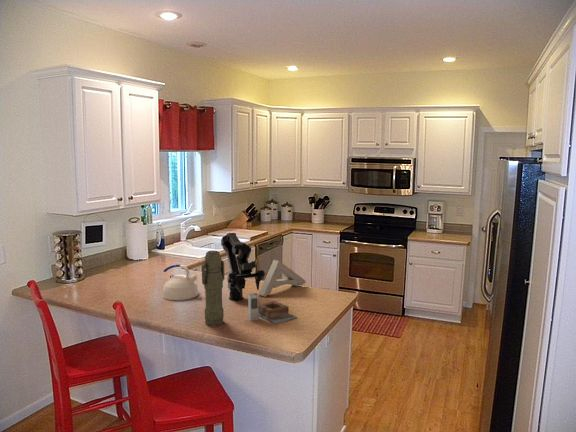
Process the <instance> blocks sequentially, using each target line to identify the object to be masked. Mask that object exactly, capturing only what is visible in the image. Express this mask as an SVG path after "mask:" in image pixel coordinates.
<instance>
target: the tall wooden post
mask: <svg viewBox="0 0 576 432" xmlns="http://www.w3.org/2000/svg"><path fill="white" fill-rule="evenodd" d="M247 295H248V297H247V298H248V299H247V300H248V301H247V302H248V303H247V304H248V312H247V313H248V319H249V321H250V322H251V321H252V322H253V321H259V316H258V305H259V294H258V293H257V292H255V293H254V292H253V293H248V294H247Z"/></svg>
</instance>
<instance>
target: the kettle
mask: <svg viewBox="0 0 576 432" xmlns="http://www.w3.org/2000/svg"><path fill="white" fill-rule="evenodd" d="M173 268H182V269H184V270H185V272H186V275H185V274H176V275H170V276H169V279H167V280H166V282H165V283H164V286H163V289H162V298H164V299H165V300H168V301H169V300H170V301H186V299H187V300H190V298H191V299H194V298H196V297H198V295H199V289H198V284H197V282H196V281H197V280H198V276H197V274H192V275H191V274H190V273H191V271H190V270H189V268H188V267H187V266H186V265H184V264H173V265H170V266H167V267H166V268H164V270H163V271H162V272H163V273H165V272H168V271H169V270H170V269H173ZM193 297H194V298H193Z"/></svg>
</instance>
